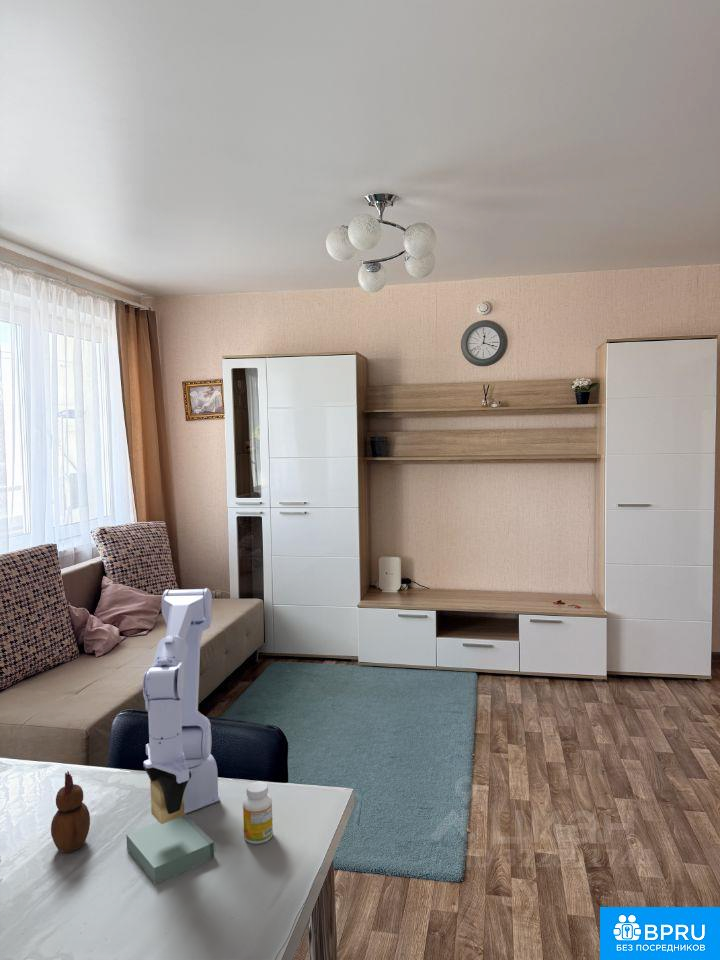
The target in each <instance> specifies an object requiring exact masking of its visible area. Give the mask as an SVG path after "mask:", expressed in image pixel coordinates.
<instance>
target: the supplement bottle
mask: <svg viewBox="0 0 720 960" xmlns="http://www.w3.org/2000/svg"><path fill="white" fill-rule="evenodd" d="M242 809H243V810H242V811H243V812H242V814H243V816H242V817H243V818H242V819H243V838H244V840H245V841H246V842H247V843H249V844H253V845H258V844H264V843H266V842H268V841H269V840H271V839H272V837H273V832H274V830H273V829H274V828H273V826H274V825H273V800H272V797H271V795H270V794H269V786H268V784H267V783H266V782H264V781H254V782H250V783H249V784H247V786H246V797H244V799H243V803H242Z"/></svg>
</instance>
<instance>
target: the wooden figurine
mask: <svg viewBox="0 0 720 960" xmlns="http://www.w3.org/2000/svg"><path fill="white" fill-rule="evenodd" d="M73 780H74V779H73V776H72V775H71V773H70V771H69V770H67V772H64V786H62V787H61V788H59V790H58V791H57V793H56V797H55V806H56V808H57V810H56V813H54V816H53V817H52V820H51V823H50V834H51V835H50V836H51V838H52V840H53V844H54V845H55V847H56V849H57V850H58V851H60V852H63V853H72V852H74V851H76V850H78V849H80V848H81V847H83V845H84V844H85V843H86V841H87V837H88V834H89V831H90V826H91V815H90V811H89V808H88V806H87V804H85V803H84V802H83V801H84V790H83V788H82V787H81V786H80V785H78V784H74V781H73Z"/></svg>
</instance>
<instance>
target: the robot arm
mask: <svg viewBox="0 0 720 960" xmlns="http://www.w3.org/2000/svg"><path fill="white" fill-rule="evenodd" d="M160 608H161V615H162V617H163V620H164V621H165V624H166V626H167V627H166V633H165V636H164V637H163V638H161V639H160V640H159V641H158V644H157V647H156V650H155V654H154V657H153V660H152V663H151V664H152V665H151V667H150V668H149V669H147V670H145V672H144V674H143V679H142V694H143V699H144V704H145V711H147V714H148V737H149V738H148V739H149V740H148V742H149V743H147V744H145V754H146V756H148V757H147V758H148V759H146V760H144V761H143V766H142V767H143V769H144V770H145V772H146V774H147V775H148V778H149V781H150V782H152V781H155V780H158V782H159V783H160V785H161V787H162V790H163V793H164V797H165V804H166V808H167V811H168V813H169V814H172V813H174V812H177V811H179V810H180V808H181V803H182V799H183V794H184V812H185V815H186V814H188V813H189V814H190V813H192V812H193V811H197V810H199V809H201V808H205V807H207V806H210V805H212V804H214V803H217V802H220V800H221V797H220V796H219V782H218V780H219V777H218V776H219V775H218V774H219V773H218V766H217V762H216V759H215V758H214V756H213V755H212V754H211V753H212V731H211V729H212V728H211V726H212V724H211V722H210V719H209V718H208V717H207V716H205V715H204V714H202V713H201V712H200V711H199V689H200V688H199V687H200V667H201V666H200V663H201V661H200V660H201V641H202V637H203V633H204V631H206V630H208V629H210V628H211V623H212V620H213V619H212V617H213V616H212V615H213V612H212V611H213V596H212V591H211V590H210V589H209V588H208V587H205V588H195V589H194V588H193V589H192V588H191V589H190V588H189V589H169V588H168V589H167V588H166V589H165V591H164V592H163V593H162V597H161V607H160ZM193 726H195V728H192V727H193ZM196 726H198V727H196ZM183 727H191V728H183Z"/></svg>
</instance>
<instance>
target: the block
mask: <svg viewBox="0 0 720 960" xmlns="http://www.w3.org/2000/svg"><path fill="white" fill-rule="evenodd" d="M149 783H150V807H151V808H150V810H151V815H152V816H153V817H154V818H155V819H156V821H157V822H159V823H160V824H164V823H166V822H169V821H172V820H174V819H177V818H179V817H182V816H184V815H186V814H185V812H184V794H183V799H182V803H181V808H180V810H179V811H177V812H174V813H172V814H169V813H168V811H167V808H166V804H165V797H164V793H163V790H162V787H161V785H160V783H159V782H158V780H155V781H152V782H151V781H150V782H149Z"/></svg>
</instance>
